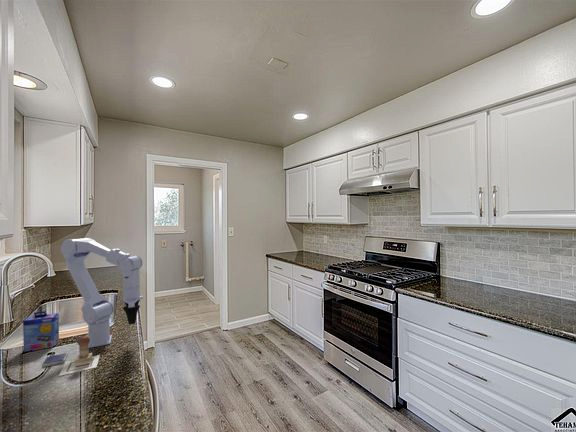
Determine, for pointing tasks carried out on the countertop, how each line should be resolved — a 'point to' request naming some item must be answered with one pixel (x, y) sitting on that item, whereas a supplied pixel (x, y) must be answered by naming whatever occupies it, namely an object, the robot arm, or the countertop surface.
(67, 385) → the countertop surface
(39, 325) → the ink cartridge box
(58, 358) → the ink pad
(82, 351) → the stamp
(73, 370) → the paper
